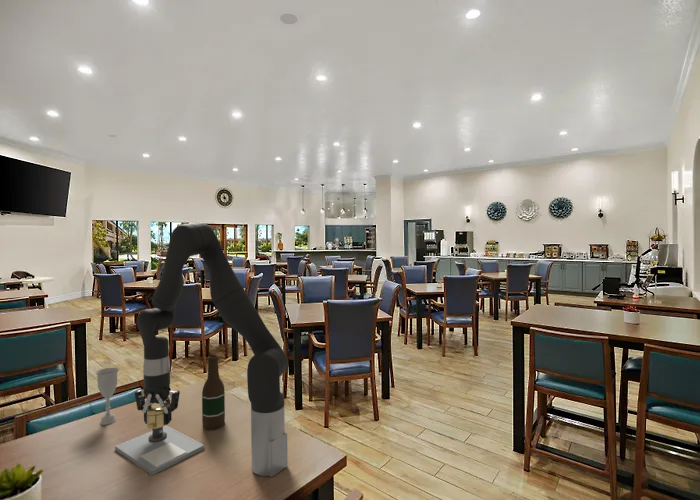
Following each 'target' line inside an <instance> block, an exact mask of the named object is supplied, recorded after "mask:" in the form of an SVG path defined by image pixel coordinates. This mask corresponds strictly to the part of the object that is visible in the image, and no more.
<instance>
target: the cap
mask: <svg viewBox="0 0 700 500" xmlns="http://www.w3.org/2000/svg"><path fill="white" fill-rule="evenodd" d="M164 413H165V412H164V410H163V408H162V407H161V406H160V404H157V405H152V407H150V408H149V409H147V424H146V426H147V428H148V429H150V430H152V429H157V428H160V427H163V426H165V425H164Z"/></svg>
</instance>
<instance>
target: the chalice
mask: <svg viewBox="0 0 700 500" xmlns="http://www.w3.org/2000/svg"><path fill="white" fill-rule="evenodd" d="M118 373H119V368H118V367H106V368H102V369H99V370H97V371H96V372H95V374H96V376H97V389H98V391H99V392H100V394H101V396H102V397H103V398H106V400H105V405H106V407H105V410H106V413H105V414H104V415H102V417H101V420H100V422H99V425H100V426H101V425H103V426H108V425H111V424H113V423H116V422H117V420H118V419H117V418H116V415H115V414H114V413H113V412H111V411H110V410H111V409H112V407H111V405H110V404H111V401H110V400H111V399H110V398H111V397H113V394H114V393H115V391H116V388H117V385H118Z"/></svg>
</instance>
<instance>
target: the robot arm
mask: <svg viewBox="0 0 700 500" xmlns="http://www.w3.org/2000/svg"><path fill="white" fill-rule="evenodd" d="M197 255H200V257H201V258H202V259H203V262H204V263H205V265H206V267H207V270H208V272H209V293H210V298H211V302H212V303H213V305H214V306H215V309H216V310H217V312H218V314H220V315H219V316H220V317H221V318H222V320H224V322H226V323H225V324H227V325H229V326H230V328H231V329H233V330H234V331H236V333H238V334H239V335H240V336H241V337H242V338H243V339H244V340H245V341H246V342H247V344H248V345H249V347H250V350H251V351H252V353H253V356H252V357H251V358H250V359H249V361H248V364H247V369H246V379H247V382H246V383H247V397H248V400H249V402H250V431H251V432H250V434H251V438H250V440H251V442H250V443H251V452H250V453H251V471H252V472H253V473H254V474H255V475H257V476H261V477H267V476H269V477H271V478H272V477H274V476H275V475H277V474H279V473H280V472H281V471H283V470H284V469H286V468H287V467H288V462H289V461H288V433H287V432H285V431H286V430H285V427H286V426H285V425H286V424H285V421H286V420H285V409H286V408H285V403H286V402H285V394H284V393H283V392H281V384H280V382H281V381H280V379H281V376H282V375H283V374H284V373H285V371H286V369H287V367H288V358H287V355H286V352H285V351H284V349H283V348H282V347H281V346H280V343H278V341H277V340H276V339H275V337H274V336H273V335H272V333H271V332H270V330H269V329H268V327H267V326H266V324H265V322H264V321H263V319H262V317H261V315H260V314H259V312H258V310H257V308H256V307H255V306H254V304H253V302H252V299H251V298H250V297H249V294H248V293H247V291H246V290H245V288H244V287H243V285H242V283H241V282H240V280H239V279H238V277H237V275H236V273H235V271H234V269H233V267H232V266H231V264H230V262H229V260H228V259H227V257H226V254H225V252H224V250H223V248H222V246H221V243H220V241H219V238H218V237H217V235H216V233H215V231H214V230H213V228H212V227H211V226H210V225H209V224H207V223H205V222H192V223H185V224H180V225H177V226H176V227H175V228H174V229H173V230H172V233H171V235H170V238H169V243H168V247H167V251H166V256H165V260H164V265H163V270H162V274H161V276H160V279H159V281H158V284H157V287H156V289H155V291H154V293H153V295H152V298H151V303H152V306H153V307H154V308H148V309H143V310H141V311H140V312H139V313H138V315H137V317H136V324H137V325H136V326H137V328H138V332H139V333H140V336H141V339H142V345H143V363H142V364H143V365H142V366H143V373H142V374H143V388H144V389H143V388H141V389H138V390H137V391H136V392H134V399H135V403H136V409H137V411H142V412H143V422H144V424H145V425H147V409H149V408H150V407H153V404H157V405H160V406H161V407H162V408H163V410H164V412H165V413H164V425H167V426H168V425H169V424H170V422H171V421H172V412H174V411H176V410H177V409H178V407H179V402H180V401H179V400H180V394H181V393H180V392H181V391H180V390H179V389H178V390H172V389H171V387H170V385H171V360H170V353H169V352H170V348H169V347H170V344H169V343H170V342H169V339H168V338H167V337H165V336H156V334H155V331H160V330H166V329H169V328H170V327H171V326H172V325H173V323H174V322H175V318H176V310H177V309H176V308H177V303H178V302H179V299H180V297H181V294H182V292H183V289H184V287H185V284H184V283H185V282H184V275H183V269H184V266H185V264H186V263H187V262H188V260H189V258H190V257H192V256H193V257H194V256H197ZM169 396H170V397H169ZM145 397H146V399H145Z"/></svg>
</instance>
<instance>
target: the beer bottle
mask: <svg viewBox="0 0 700 500" xmlns="http://www.w3.org/2000/svg"><path fill="white" fill-rule="evenodd" d="M219 359H220V358H219V355H218V354H217V355H216V354H211V355H209V356H208V357H207V362H208V365H207V378H206V381H205V382H204V385H203V387H202V390H201V391H202V392H201V406H202V407H201V408H202V409H201V415H202V416H201V417H202V418H201V419H202V428H203V429H205V430H208V431H210V430H218V429H220V428H221V427H223V426H224V425H225V420H226V418H225V417H226V409H225V408H226V399H225V395H226V394H225V393H226V392H225V390H226V389H225V385H224V382H223V380H222V379H221V378H220V372H219V362H218V361H219Z"/></svg>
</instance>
